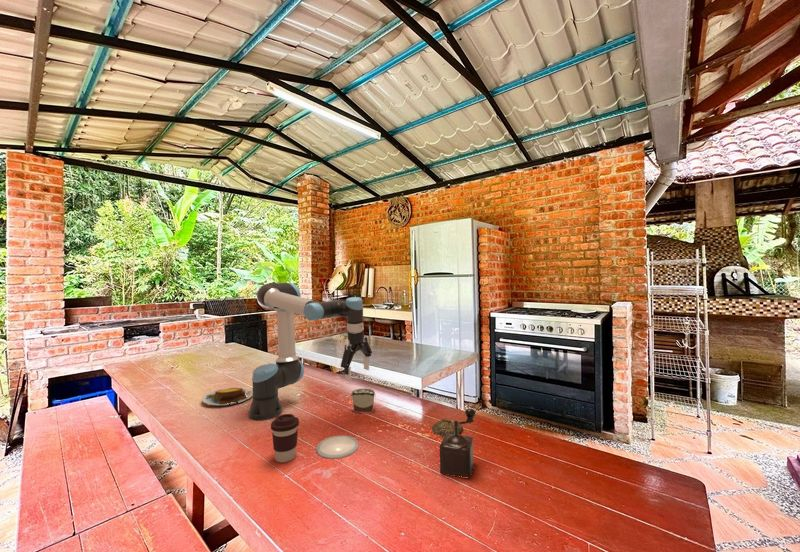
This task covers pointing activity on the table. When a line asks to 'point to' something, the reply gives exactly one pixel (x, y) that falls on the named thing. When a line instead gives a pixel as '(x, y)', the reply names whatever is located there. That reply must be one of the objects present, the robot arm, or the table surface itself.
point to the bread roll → (445, 427)
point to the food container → (363, 400)
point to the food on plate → (227, 396)
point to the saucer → (337, 447)
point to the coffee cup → (285, 437)
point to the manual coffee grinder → (458, 451)
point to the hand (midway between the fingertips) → (357, 374)
